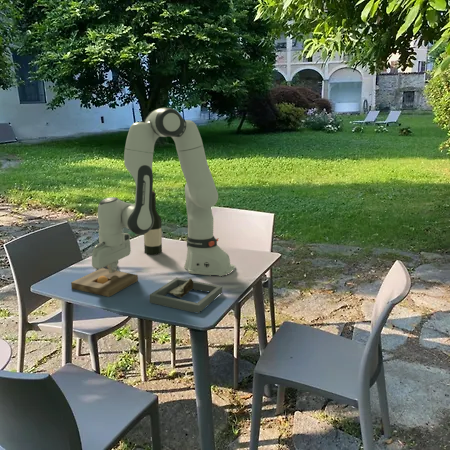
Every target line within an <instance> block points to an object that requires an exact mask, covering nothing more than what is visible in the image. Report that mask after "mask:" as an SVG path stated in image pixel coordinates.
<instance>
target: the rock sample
mask: <svg viewBox="0 0 450 450" xmlns="http://www.w3.org/2000/svg"><path fill="white" fill-rule="evenodd" d="M187 280H188V281H187V282H186V283H184V284H183V285H180V286H178V287H177V288H174V289H173V290H171V291H170V292H169V293H168V294H170V295H171V296H175V297H176V298H178V299H182V298H183V297H185V296H186V295H188V294H189V292H191V291H192V289H193V284H194V283H193V281H194V280H193V279H192V278H191V277H189V278H188V279H187Z"/></svg>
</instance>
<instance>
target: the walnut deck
mask: <svg viewBox="0 0 450 450" xmlns="http://www.w3.org/2000/svg"><path fill="white" fill-rule="evenodd" d="M100 276H105V277H107V279H108V282H106V283H104V284H101V283H98V282H97V280H98V278H99V277H100ZM138 281H139V276H138V274H135V273H131V272H130V273H129V272H124V271H119V270H117V271H116V272H114V273H109V269H108V268H106V267H103V268H101V269H97V270H95V271H92V272H90V273H89V274H85V275H84V276H82V277H80V278H77V279H75V280H73V281H72V282H71V283H70V284H71V289H72V290H78V291H82V292H86V293H89V294H95V295H99V296H104V297H107V298H110V297H112V296H113V295H115V294H117V293H119V292H120V291H123V290H125V289H126V288H128V287H129V286H131V285H133V284H135V283H136V282H138Z"/></svg>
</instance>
